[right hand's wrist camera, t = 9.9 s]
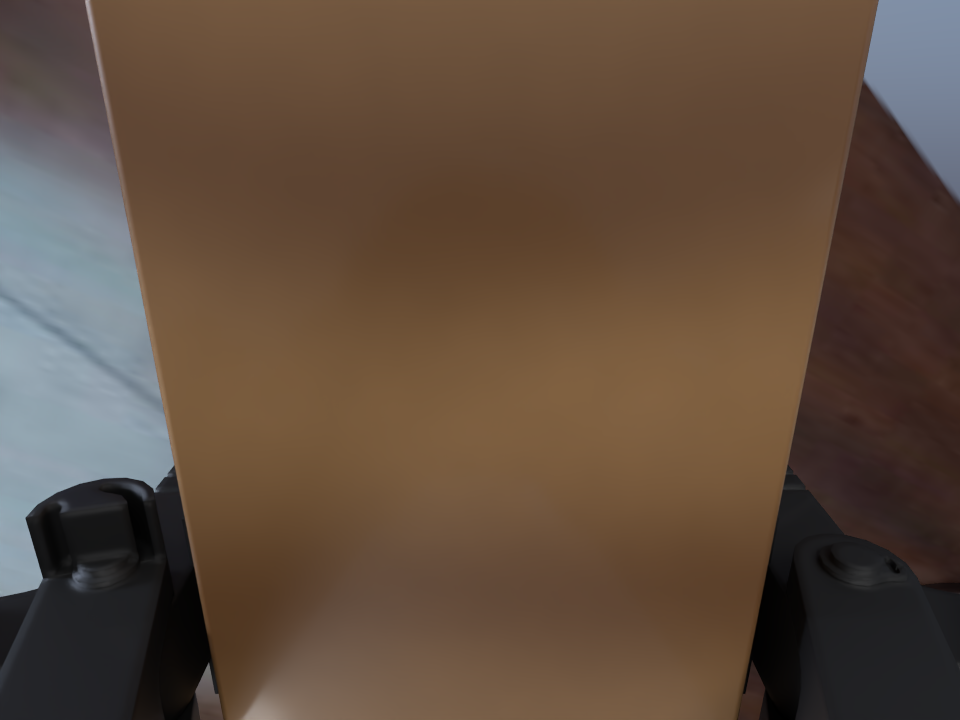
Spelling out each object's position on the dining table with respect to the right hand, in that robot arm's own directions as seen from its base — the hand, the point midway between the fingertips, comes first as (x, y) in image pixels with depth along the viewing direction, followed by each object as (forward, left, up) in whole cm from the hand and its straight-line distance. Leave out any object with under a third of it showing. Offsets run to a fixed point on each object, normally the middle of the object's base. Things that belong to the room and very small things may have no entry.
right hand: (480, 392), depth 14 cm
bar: (-20, +22, -1) cm, 30 cm away
